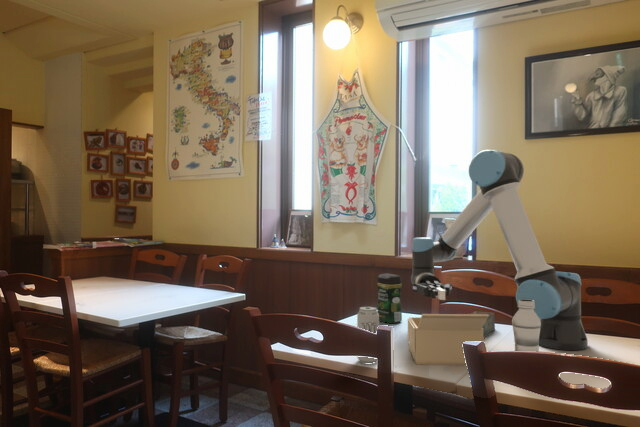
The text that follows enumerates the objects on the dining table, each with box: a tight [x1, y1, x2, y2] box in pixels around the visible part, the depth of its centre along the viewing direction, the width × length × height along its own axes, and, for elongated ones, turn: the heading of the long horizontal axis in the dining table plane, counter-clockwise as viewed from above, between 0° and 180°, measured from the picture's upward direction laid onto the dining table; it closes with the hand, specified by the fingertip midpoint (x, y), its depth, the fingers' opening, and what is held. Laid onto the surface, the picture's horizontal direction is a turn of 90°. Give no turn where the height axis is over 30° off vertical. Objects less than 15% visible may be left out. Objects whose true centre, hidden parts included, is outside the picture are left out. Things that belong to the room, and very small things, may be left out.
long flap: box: [418, 313, 489, 330], centre depth 127 cm, size 17×9×1 cm
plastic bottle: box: [511, 299, 541, 353], centre depth 118 cm, size 6×7×20 cm
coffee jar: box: [376, 272, 403, 324], centre depth 187 cm, size 10×8×19 cm
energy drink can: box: [356, 306, 380, 364], centre depth 134 cm, size 6×6×15 cm
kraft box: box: [407, 317, 484, 366], centre depth 138 cm, size 19×14×10 cm
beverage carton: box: [469, 310, 496, 339], centre depth 168 cm, size 8×19×7 cm, turn 146°
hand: (442, 295), depth 140 cm, fingers closed
